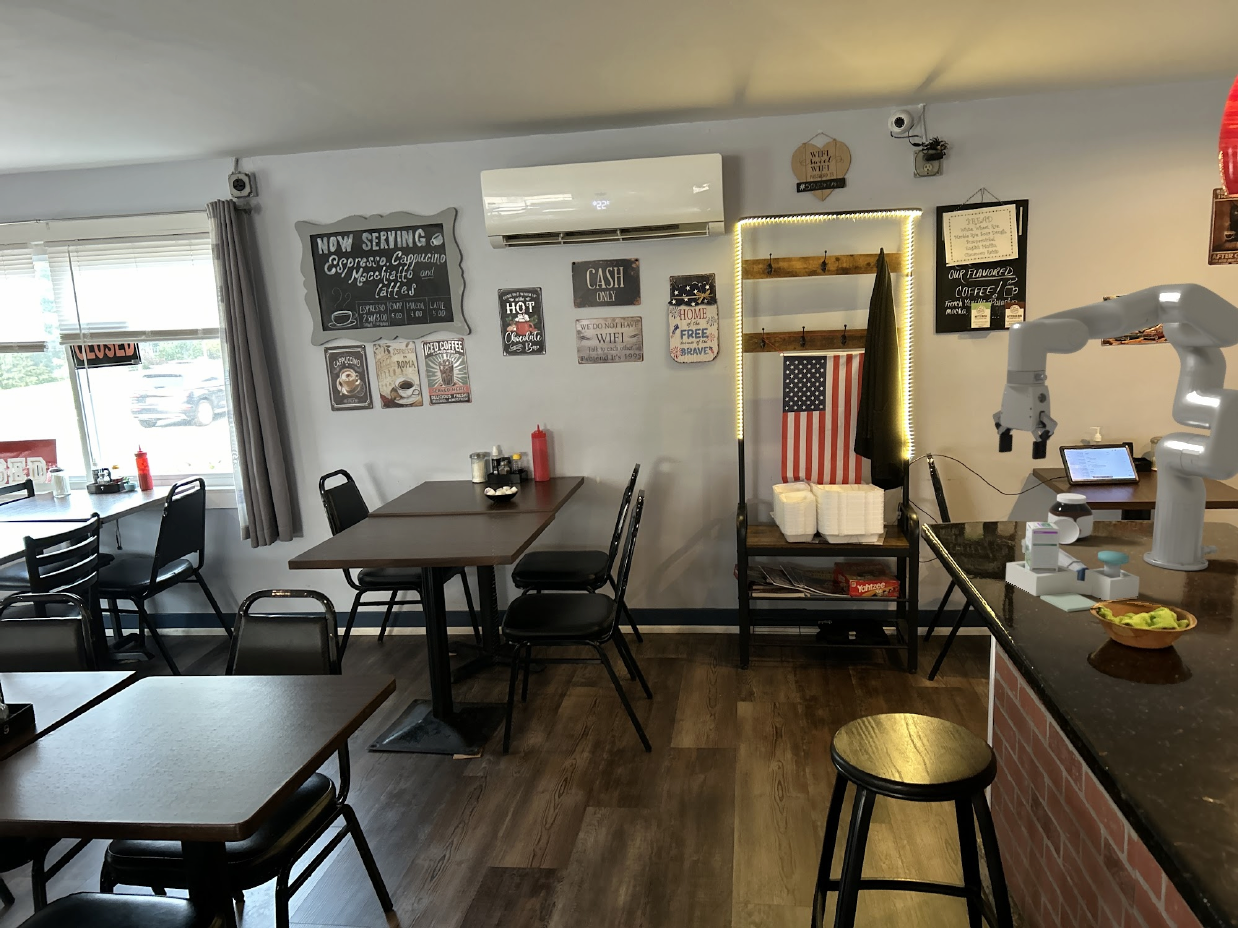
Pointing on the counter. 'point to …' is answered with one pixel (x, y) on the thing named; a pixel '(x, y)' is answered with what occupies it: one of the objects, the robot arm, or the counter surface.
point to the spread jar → (1071, 517)
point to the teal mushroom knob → (1113, 562)
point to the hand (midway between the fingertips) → (1021, 455)
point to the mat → (1069, 601)
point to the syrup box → (1042, 547)
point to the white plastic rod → (1067, 562)
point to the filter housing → (1073, 582)
